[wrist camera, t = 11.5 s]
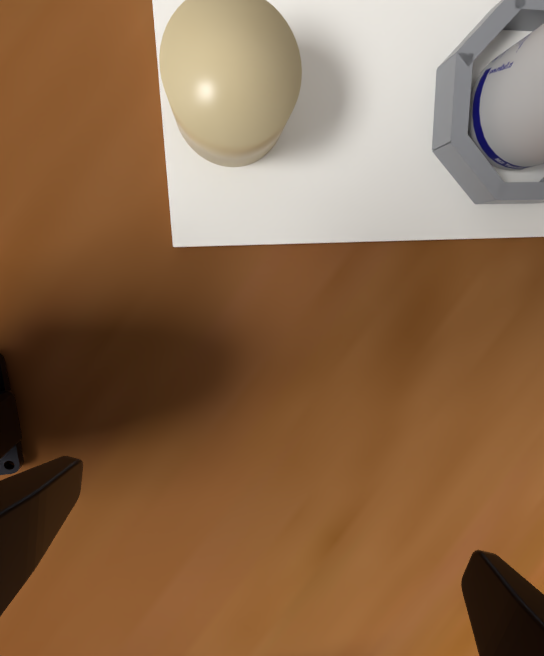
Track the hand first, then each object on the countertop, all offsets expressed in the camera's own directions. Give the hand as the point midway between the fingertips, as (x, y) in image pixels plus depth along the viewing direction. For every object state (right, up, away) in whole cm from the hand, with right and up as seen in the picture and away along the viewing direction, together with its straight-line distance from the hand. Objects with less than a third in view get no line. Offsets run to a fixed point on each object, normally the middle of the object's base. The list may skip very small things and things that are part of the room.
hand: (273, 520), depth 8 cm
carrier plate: (+5, +15, +10) cm, 19 cm away
